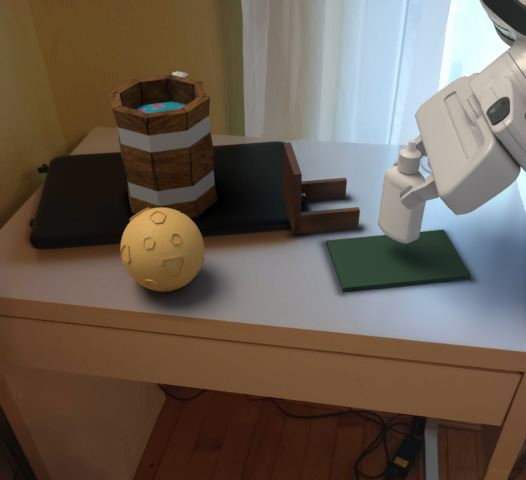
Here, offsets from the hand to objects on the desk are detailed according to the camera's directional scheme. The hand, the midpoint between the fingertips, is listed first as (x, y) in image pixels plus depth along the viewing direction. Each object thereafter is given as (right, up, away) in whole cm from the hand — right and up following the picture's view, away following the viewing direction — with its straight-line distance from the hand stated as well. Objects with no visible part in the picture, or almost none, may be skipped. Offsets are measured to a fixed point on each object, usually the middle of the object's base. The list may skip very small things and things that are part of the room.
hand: (400, 187), depth 74 cm
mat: (+1, -8, +7) cm, 10 cm away
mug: (-29, +5, +21) cm, 36 cm away
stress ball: (-28, -11, +5) cm, 30 cm away
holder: (-8, 0, +15) cm, 17 cm away
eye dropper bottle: (+1, -5, +5) cm, 7 cm away
